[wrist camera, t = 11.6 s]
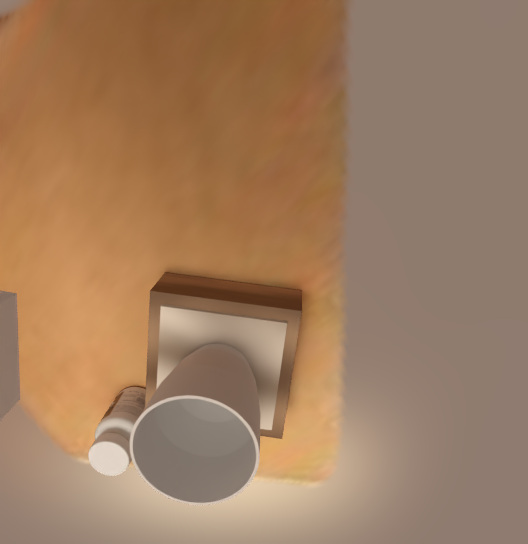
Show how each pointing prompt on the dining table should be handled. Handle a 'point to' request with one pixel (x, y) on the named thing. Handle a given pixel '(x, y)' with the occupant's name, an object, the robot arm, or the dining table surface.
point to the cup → (200, 429)
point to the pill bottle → (117, 432)
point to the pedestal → (227, 334)
